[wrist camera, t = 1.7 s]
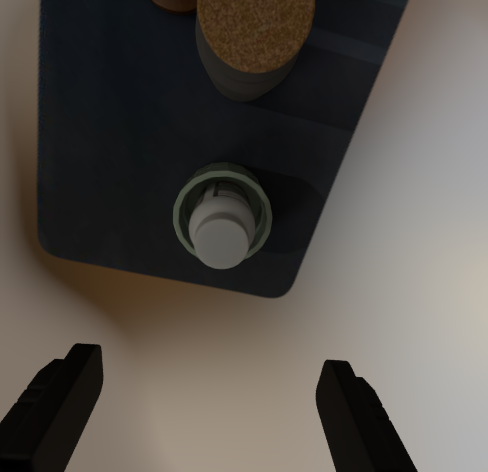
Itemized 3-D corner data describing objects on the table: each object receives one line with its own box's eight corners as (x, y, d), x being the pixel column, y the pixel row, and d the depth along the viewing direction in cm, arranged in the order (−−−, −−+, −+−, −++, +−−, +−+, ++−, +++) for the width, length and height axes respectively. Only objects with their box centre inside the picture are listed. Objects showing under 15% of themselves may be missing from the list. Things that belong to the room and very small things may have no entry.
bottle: (266, 15, 24) (317, -122, 10) (281, 92, 26) (339, 66, 12) (199, 36, 24) (157, -67, 10) (219, 110, 26) (208, 105, 13)
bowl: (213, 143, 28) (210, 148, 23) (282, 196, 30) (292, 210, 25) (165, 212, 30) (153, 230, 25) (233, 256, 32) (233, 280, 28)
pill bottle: (215, 238, 31) (209, 289, 22) (186, 196, 29) (167, 233, 20) (259, 213, 30) (272, 256, 21) (232, 168, 28) (234, 193, 19)
